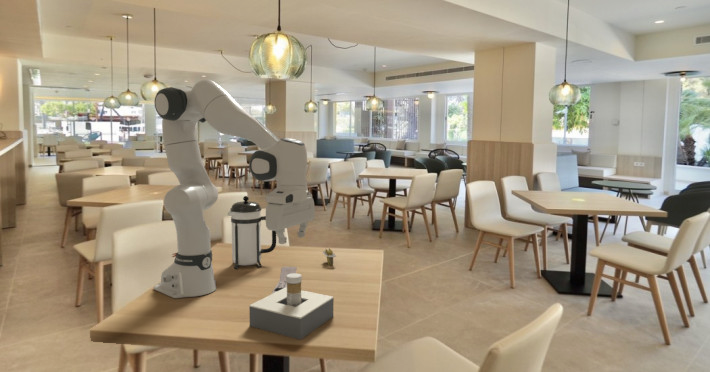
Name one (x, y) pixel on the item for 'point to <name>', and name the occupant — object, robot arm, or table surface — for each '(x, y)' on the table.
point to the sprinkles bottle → (294, 289)
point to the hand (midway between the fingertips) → (292, 240)
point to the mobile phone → (284, 278)
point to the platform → (329, 256)
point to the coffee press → (247, 233)
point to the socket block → (291, 313)
